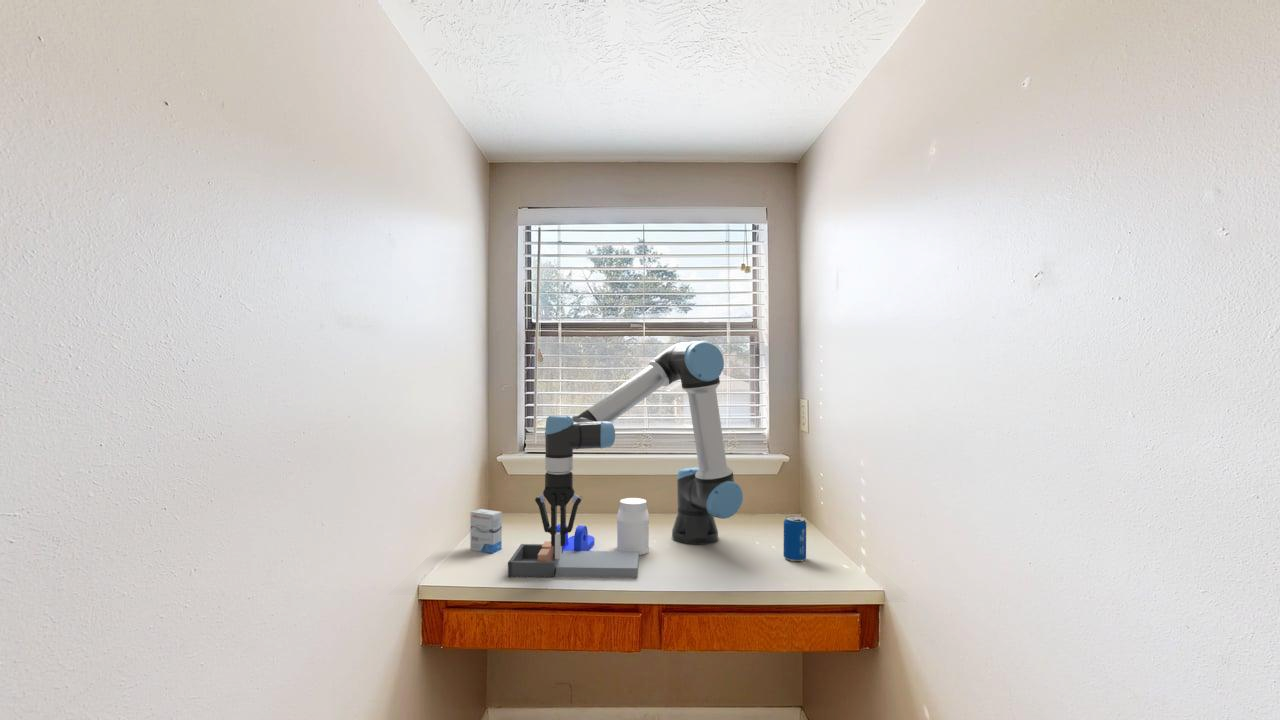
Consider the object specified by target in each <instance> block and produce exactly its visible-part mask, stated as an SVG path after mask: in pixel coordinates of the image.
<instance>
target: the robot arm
mask: <svg viewBox="0 0 1280 720" xmlns="http://www.w3.org/2000/svg"><path fill="white" fill-rule="evenodd" d="M724 367H725V360H724V356H723V354H722V351H721V350H720V349H719V348H718V347H717V346H716V345H715V344H713V343H711V342H709V341H702V340H699V341H698V340H696V341H683V342H678V343H675V344H673V345H671V346H670V347H668V348H666V349H665V350H664V351H662V352H661V353H660V354H659V355H657V356H656V357H654V358H653V359H651V360H650V361H649V363H648V366H647V367H645V368H644V369H643V370H641V371H640V372H639V373H637V374H635V375H634V376H633V377H631V378H630V379H629V380H627V381H625V382H623V384H621V385H619V387H617V388H616V389H614V390H613V391H611V392H610V393H608V394H607V395H605V397H603V398H601V399H600V400H598V401H597V402H596V403H595V404H593V405H591V406H590V407H589V408H587V409H586V410H584V411H583V412H581V413H580V414H578V415H574V416H572V415H568V414H552V415H548V417H547V418H546V420H545V429H544V430H545V431H544V434H545V435H544V436H545V437H544V439H545V440H544V441H545V459H544V462H545V464H544V470H545V471H546V472H545V474H544V490H543V491H542V494H540V495H537V496H536V497H535V498H534V501H535V502H536V504H537V506H538V509H539V513H540V518H541V523H542V527H543V530H544V531H543V532H544V533H549V534H550V535H551V536H550V541H551V545H552V546H555V559H561V556H562V546H564V545H565V543H566V533H568V534H569V533H571V532H572V531H573V527H574V524H575V519H576V516H577V511H578V507H579V505H580V503H581V501H582V500H583V497H582V496H579V495H577V494H576V493H575V490H574V486H573V485H574V484H573V481H574V480H573V479H574V478H573V475H574V473H572V471H574V469H573V468H574V467H573V466H574V465H573V463H574V461H573V460H574V458H573V457H574V450H582V449H583V450H585V449H586V450H589V449H600V450H601V449H604V448H611V447H612V446H613V445H614V443H615V440H616V430H615V429H616V428H615V426H614V423H613V422H614V421H615V420H617V419H619V417H621V416H622V415H623V414H625V413H626V412H629V410H630V409H632V408H633V407H635V406H636V405H637V404H639V403H640V402H641V401H643V400H644V399H646V398H647V397H649V396H650V395H651V394H653V393H654V392H656V391H657V390H658V389H660V388H661V387H668V386H669V385H672V384H673V383H674V382H676V381H680V383H681V384H680V385H681V389H683V391H685V392H686V393H687V396H688V403H689V411H690V416H691V417H690V418H691V423H692V429H693V430H692V431H693V437H694V443H695V451H696V458H697V464H698V466H697V467H694V466H693V467H685V468H681V469H679V470H678V471H677V479H676V481H677V515H676V516H675V517H676V518H675V520H674V523H673V526H672V530H671V538H672V540H674V541H676V542H678V543H682V544H689V545H707V544H712V543H714V542H717V541H718V540H719V530H718V526H717V524H716V521H715V518H717V519H730V518H731V517H733V516H734V515H735V514H736V513H738V511H739V509H741V507H742V504H743V501H744V493H743V490H742V487H741V486H740V485H739V484H738V483H737V482H735V478H734V471H733V469H732V468H731V467H730V466H728V464H727V457H726V451H725V450H726V449H725V445H724V444H725V443H724V435H723V430H722V423H721V416H720V409H719V403H718V402H719V401H718V396H717V388H718V387H719V385H720V384H721V381H720V380H721V379H720V376H721V374H722V372H723V370H724ZM571 500H572V503H573V505H572V509H571V512H570V517H569V521H568V525H567V505H568V503H569V502H570V501H571ZM545 501H546V502H548V504H549V505H550V521H549V516H548V512H547V508H546V503H545ZM558 507H559V509H560V515H559V517H560V523H559V524H560V532H557V533H556V531H557V525H558V524H557V523H558V519H557V517H558V509H557V508H558ZM566 525H567V527H566Z"/></svg>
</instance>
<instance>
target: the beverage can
mask: <svg viewBox="0 0 1280 720" xmlns="http://www.w3.org/2000/svg"><path fill="white" fill-rule="evenodd" d="M805 520H806V519H805V518H804V517H802V516H799V515H787V516H785V518H784V520H783V557H784V558H785V559H786V560H787V561H789V560H790V562H793V561H801V562H803V561H804V560H806V559H807V522H806V521H805ZM802 560H803V561H802Z"/></svg>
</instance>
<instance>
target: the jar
mask: <svg viewBox="0 0 1280 720" xmlns="http://www.w3.org/2000/svg"><path fill="white" fill-rule="evenodd" d="M649 514H650V513H649V510H648V508H647V500H646V499H645V498H639V497H626V498H622V499H620V500H619V508H618V511H617V517H616V520H617V526H616V527H617V539H616V542H617V543H616V551H621V552H639V556H643V555H646V553H647V554H648V553H650V552H649V551H650V548H649V540H650V539H649V535H650V534H649V529H650V528H649V525H650V524H649V523H650V515H649ZM642 554H643V555H642Z"/></svg>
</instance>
